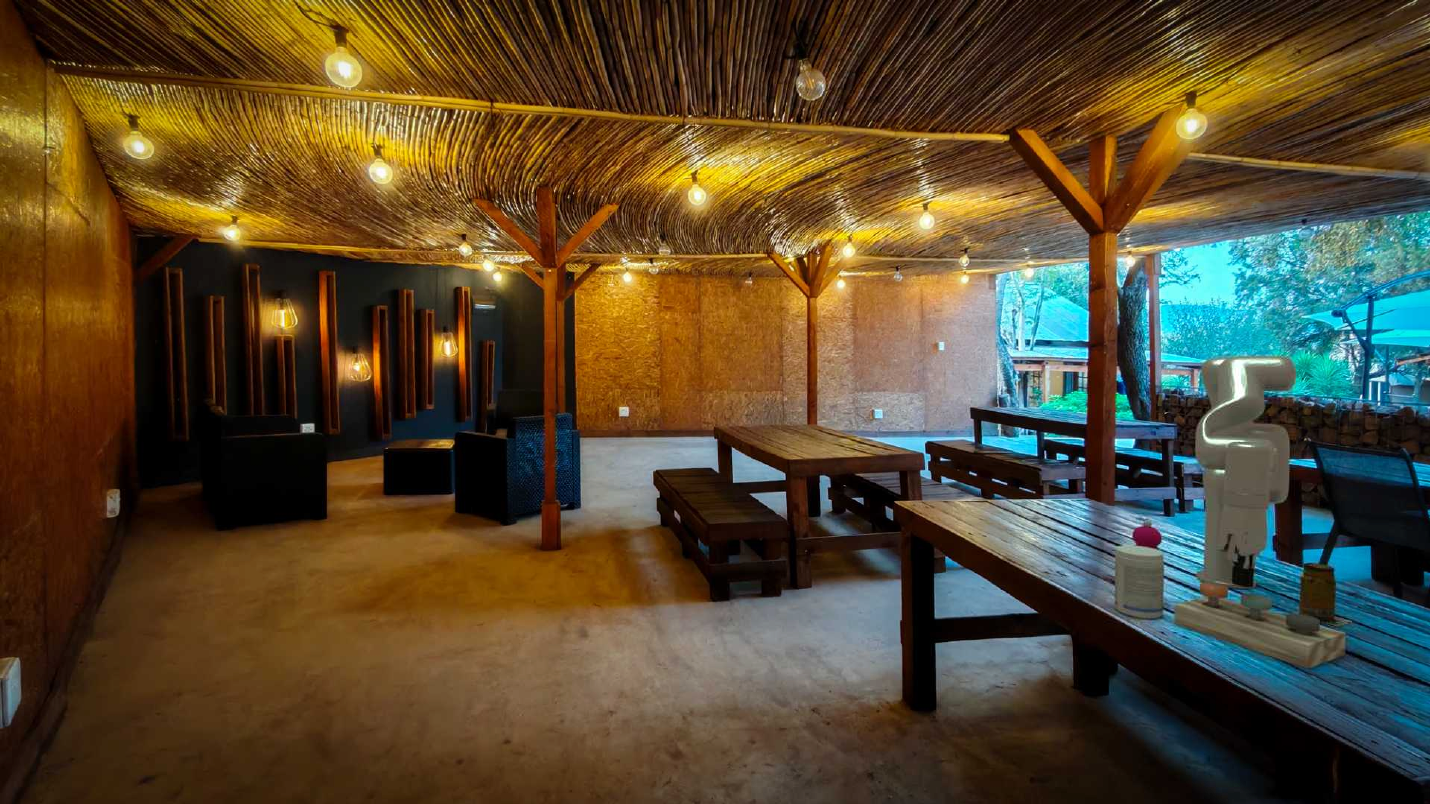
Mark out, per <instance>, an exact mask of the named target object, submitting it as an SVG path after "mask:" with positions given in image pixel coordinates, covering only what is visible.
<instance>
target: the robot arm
mask: <svg viewBox="0 0 1430 804" xmlns="http://www.w3.org/2000/svg"><path fill="white" fill-rule="evenodd" d="M1200 368H1201V370H1200V371H1201V373H1200V375H1201V380H1202V384H1203V387H1204V390H1205V392H1206V395H1207V397H1208V399H1209V401H1210V405H1211V409H1210V410H1208V411H1207V412H1206V413H1205V414H1204V415H1203V416H1202V418H1200V419H1199V422H1198V424H1197V426H1196V429H1195V430H1196V431H1195V458H1196V461H1197V464H1199V466H1200V467H1202V468H1204V470H1203V474H1202V485H1203V491H1204V492H1203V493H1204V498H1205V499H1204V500H1205V515H1204V516H1205V517H1204V518H1205V519H1204V521H1205V522H1204V525H1205V526H1204V543H1203V544H1204V546H1203V547H1204V548H1203V552H1204V553H1203V570H1199V571H1196V574H1195V577H1196V578H1197V579H1198V580H1199V581H1201V582H1202V583H1215V584H1220V585H1223V586H1226V587H1227V588H1228V589H1241V590H1244V589H1245V590H1247V589H1253V588H1255V587H1257V581H1256V580H1255V579H1254V577H1255V576H1254V575H1255V570H1256V569H1255V567H1256V561H1257V558H1258V557H1259V556H1260V554H1261V553H1262V552H1264V551H1265V550H1266V549H1267V542H1268V518H1267V517H1268V516H1267V511H1269V510H1270V509H1269V508H1270V506H1269V505H1270V504H1281V503H1284V502H1285V501H1286V500H1287V498H1288V494H1289V490H1290V489H1289V488H1290V486H1289V485H1290V449H1291V447H1290V446H1291V445H1290V437H1289V434H1288V431H1287V429H1286V428H1285V427H1284V426H1281V425H1279V424H1274V423H1254V422H1253V421H1254V420H1256V419H1257V418H1259V417H1260V416H1261V415H1262V414H1263V413H1264V411H1265V407H1266V403H1265V396H1264V394H1265V393H1264V392H1289V391H1291V390H1292V388H1293V387H1294V385H1295V384H1296V379H1297V372H1296V371H1297V370H1296V366H1295V363H1294V362H1293V361H1292V359H1291V358H1290V357H1287V356H1284V355H1242V356H1241V355H1240V356H1221V357H1213V358H1209V359H1207V360H1205V361H1204V362H1203V363H1202V365H1201V367H1200Z"/></svg>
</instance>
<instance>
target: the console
mask: <svg viewBox="0 0 1430 804" xmlns="http://www.w3.org/2000/svg"><path fill="white" fill-rule="evenodd" d="M1173 611H1174V614H1173V616H1174V617H1173V618H1174V619H1173V625H1175V626H1178V627H1181V628H1183V629H1186V630H1187V629H1188V630H1190V631H1194V632H1197V633H1199V634H1202V635H1205V636H1209V637H1210V638H1214V639H1217V640H1221V641H1223V642H1225V643H1226V642H1227V643H1230V644H1232V645H1235V646H1238V647H1242V648H1244V649H1247V650H1251V651H1252V652H1256V653H1259V654H1263V655H1265V656H1268V657H1271V658H1274V659H1277V660H1280V661H1283V662H1286V663H1289V664H1292V665H1295V666H1297V667H1301V668H1304V669H1307V670H1308V669H1311V668H1314V667H1316V666H1319V665H1322V664H1324V663H1327V662H1330V661H1333V660H1336V659H1338V658H1341V657H1343V656H1345V655H1346V634H1347V633H1346V632H1344V631H1340V630H1337V629H1333V628H1331V627H1326V626H1323V625H1320V630H1319V631H1318V632H1308V636H1307V635H1304V634H1300V633H1297V632H1296V629H1294V628H1291V627H1289V626H1287V625H1286V615H1285V614H1279V613H1277V612H1273V611H1271V610H1261V621H1257V620H1253V619H1250V608H1248V607H1245V606H1243V605H1241V602H1237V601H1234V600H1230V599H1228V598H1219V600H1218V608H1217V609H1216V608H1213V607H1209V606H1208V596H1203V597H1199V598H1194V599H1191V600H1187V601H1183V602H1179V603H1175V604H1174V610H1173Z"/></svg>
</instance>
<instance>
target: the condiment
mask: <svg viewBox="0 0 1430 804" xmlns="http://www.w3.org/2000/svg"><path fill="white" fill-rule="evenodd" d="M1302 572H1303V573H1302V574H1301V575H1300V581H1299V583H1300V584H1299V585H1300V586H1299V587H1300V588H1299V601H1298V603H1299V605H1298V607H1299V608H1298V610H1299V611H1295V612H1294V613H1296V614H1303V615H1308V616H1311V617H1314V618H1317V619H1318V620H1320V623H1323V624H1326V625H1332V626H1335V627H1341V625H1342V626H1344V625H1347V624H1349V623H1347V622H1350V623H1353V620H1349V619H1345V618H1343V617H1337V616H1336V598H1337V597H1336V595H1337V580H1336V579H1335V577H1336V575H1335V572H1336V570H1335V568H1334V566H1332V565H1327V564H1324V563H1319V562H1304V564H1303V569H1302ZM1335 619H1339V620H1335ZM1327 622H1328V623H1327ZM1330 622H1331V623H1330ZM1336 622H1337V623H1336ZM1338 622H1343V624H1342V623H1338ZM1345 622H1346V623H1345Z"/></svg>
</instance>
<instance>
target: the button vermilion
mask: <svg viewBox="0 0 1430 804" xmlns="http://www.w3.org/2000/svg"><path fill="white" fill-rule="evenodd" d="M1199 594H1201V595H1204V597H1206V596H1208V606H1209V607H1213V608H1216V609H1217V608H1218V600H1219V598H1224V599H1228V597H1229V588H1228V587H1226V586H1223V585H1220V584H1215V583H1206V582H1201V583H1199Z"/></svg>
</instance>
